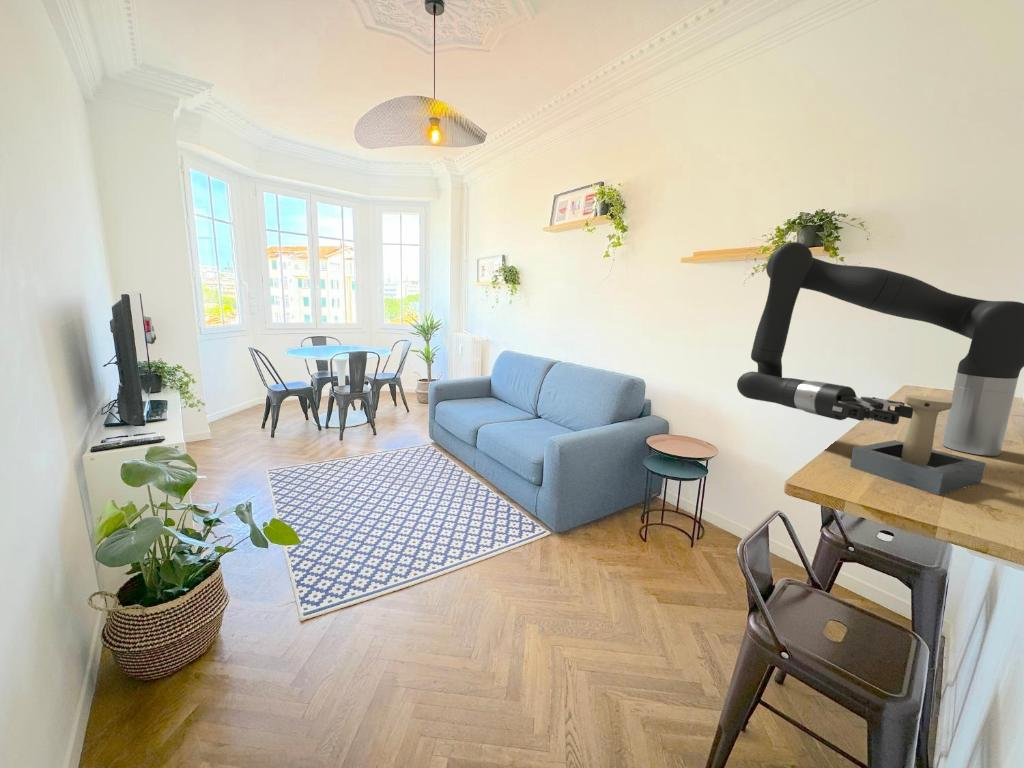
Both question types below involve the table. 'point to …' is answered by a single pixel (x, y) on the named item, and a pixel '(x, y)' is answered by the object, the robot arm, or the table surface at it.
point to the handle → (922, 427)
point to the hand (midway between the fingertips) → (911, 417)
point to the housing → (918, 468)
